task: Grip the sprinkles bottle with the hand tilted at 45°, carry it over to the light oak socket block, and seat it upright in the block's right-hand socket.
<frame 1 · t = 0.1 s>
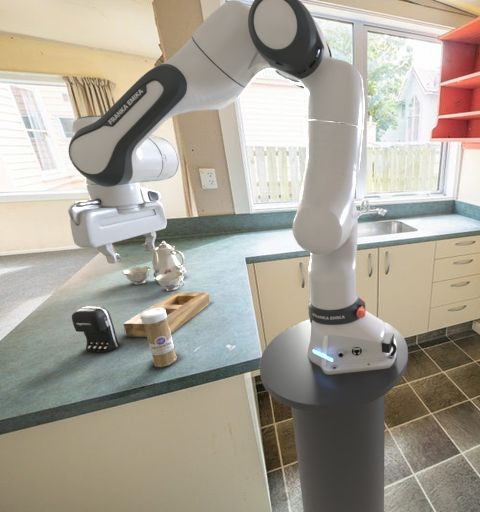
hand: (133, 256, 69), 24 cm above the worktop, tool pointing down, fingers open, 8 cm apart
battery charger: (101, 350, 75), on the worktop
socket block: (172, 318, 90), on the worktop
chinaware: (164, 282, 117), on the worktop
sprinkles bottle: (166, 362, 71), on the worktop
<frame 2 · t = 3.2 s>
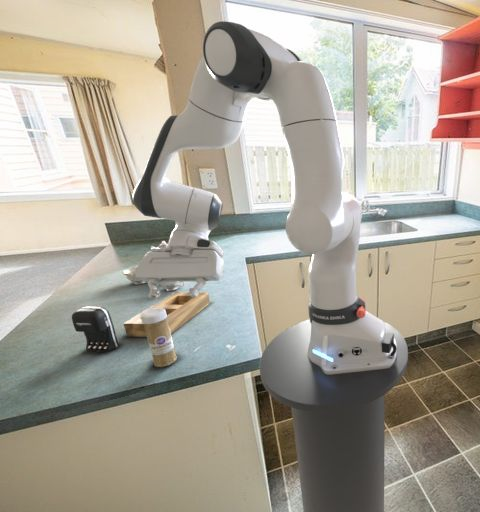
hand: (173, 296, 74), 14 cm above the worktop, tool tilted 45°, fingers open, 8 cm apart
nothing on the worktop moved.
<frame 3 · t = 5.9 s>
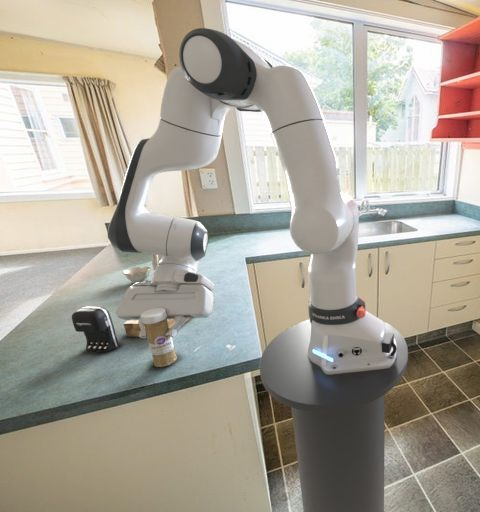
hand: (157, 337, 68), 7 cm above the worktop, tool tilted 45°, fingers closed on sprinkles bottle, 4 cm apart
sprinkles bottle: (166, 362, 71), on the worktop, touching gripper
everything else where it was.
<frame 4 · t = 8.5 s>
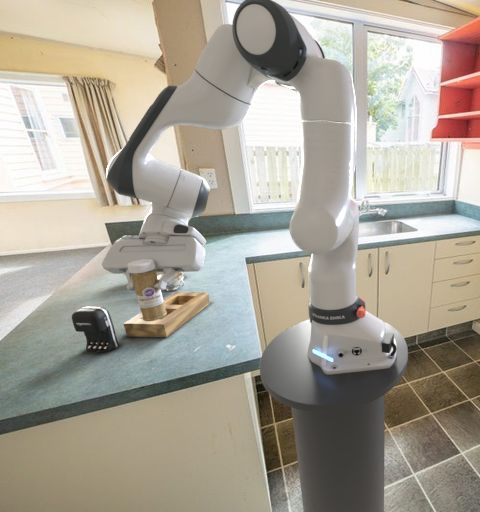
hand: (145, 289, 65), 19 cm above the worktop, tool tilted 45°, fingers closed on sprinkles bottle, 4 cm apart
sprinkles bottle: (155, 317, 68), point 12 cm above the worktop, touching gripper
everything else where it was.
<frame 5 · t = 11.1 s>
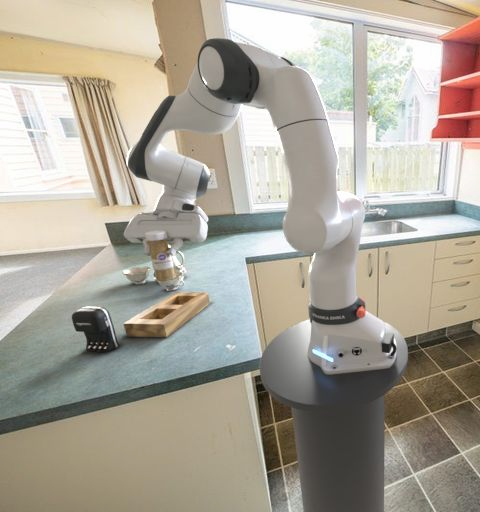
hand: (159, 254, 80), 22 cm above the worktop, tool tilted 45°, fingers closed on sprinkles bottle, 4 cm apart
sprinkles bottle: (166, 279, 82), point 14 cm above the worktop, touching gripper
everything else where it was.
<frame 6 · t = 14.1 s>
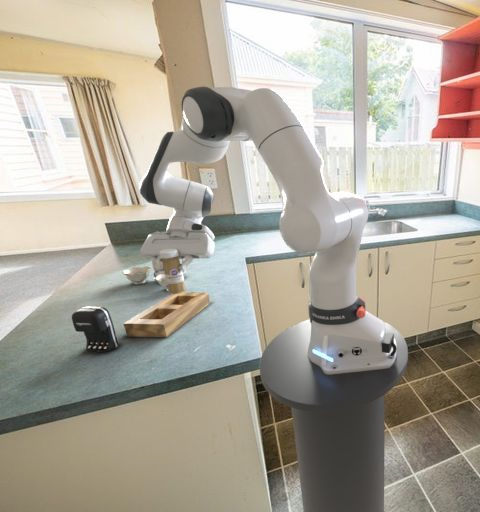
hand: (171, 270, 89), 14 cm above the worktop, tool tilted 45°, fingers closed on sprinkles bottle, 4 cm apart
sprinkles bottle: (178, 291, 92), point 7 cm above the worktop, touching gripper
everything else where it was.
when the fingers open (7 cm above the worktop, at t = 16.5 s): sprinkles bottle stays where it is, resting in socket block.
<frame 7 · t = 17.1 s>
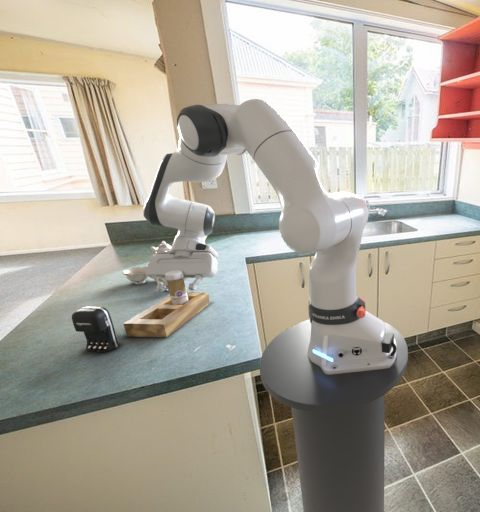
hand: (176, 290, 91), 8 cm above the worktop, tool tilted 45°, fingers open, 8 cm apart
sprinkles bottle: (182, 311, 94), resting in socket block
everything else where it was.
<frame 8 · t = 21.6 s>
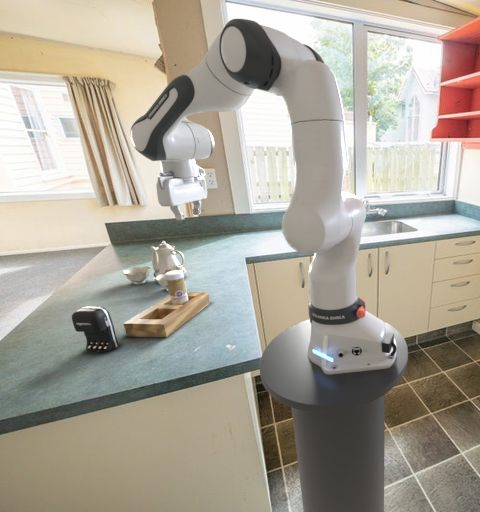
hand: (189, 217, 92), 29 cm above the worktop, tool pointing down, fingers open, 8 cm apart
nothing on the worktop moved.
at the end: sprinkles bottle 0.1 cm from the target spot in the socket block, point 0.0 cm above the socket block's base; sprinkles bottle tilted 0°; the gripper is holding nothing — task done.
